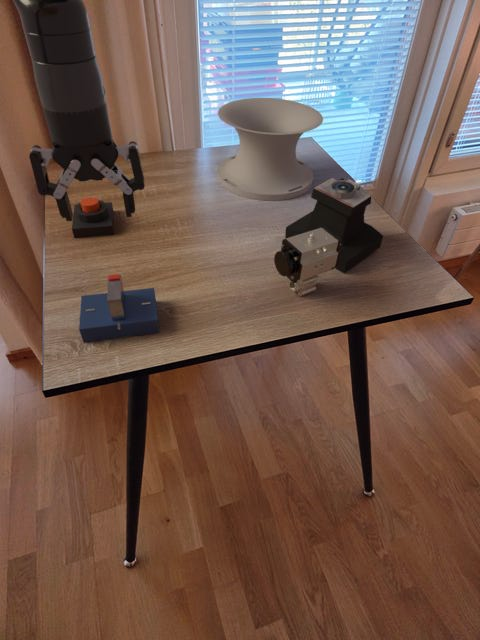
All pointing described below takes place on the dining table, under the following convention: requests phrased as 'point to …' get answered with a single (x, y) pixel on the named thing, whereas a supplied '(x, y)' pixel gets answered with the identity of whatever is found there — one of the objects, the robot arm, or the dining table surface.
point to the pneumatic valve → (308, 258)
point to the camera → (341, 220)
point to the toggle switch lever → (116, 297)
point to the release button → (90, 204)
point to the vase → (267, 148)
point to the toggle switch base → (136, 321)
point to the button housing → (93, 221)
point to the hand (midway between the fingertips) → (100, 216)
